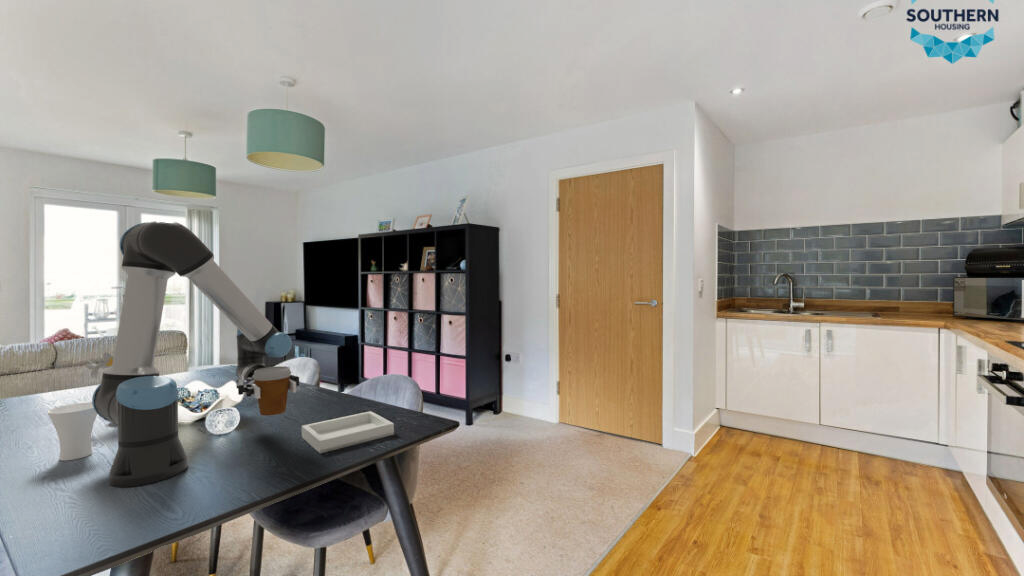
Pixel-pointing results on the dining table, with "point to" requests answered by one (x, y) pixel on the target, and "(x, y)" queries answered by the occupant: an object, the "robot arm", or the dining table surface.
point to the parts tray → (346, 431)
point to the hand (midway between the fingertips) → (277, 390)
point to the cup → (74, 429)
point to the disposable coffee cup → (272, 389)
